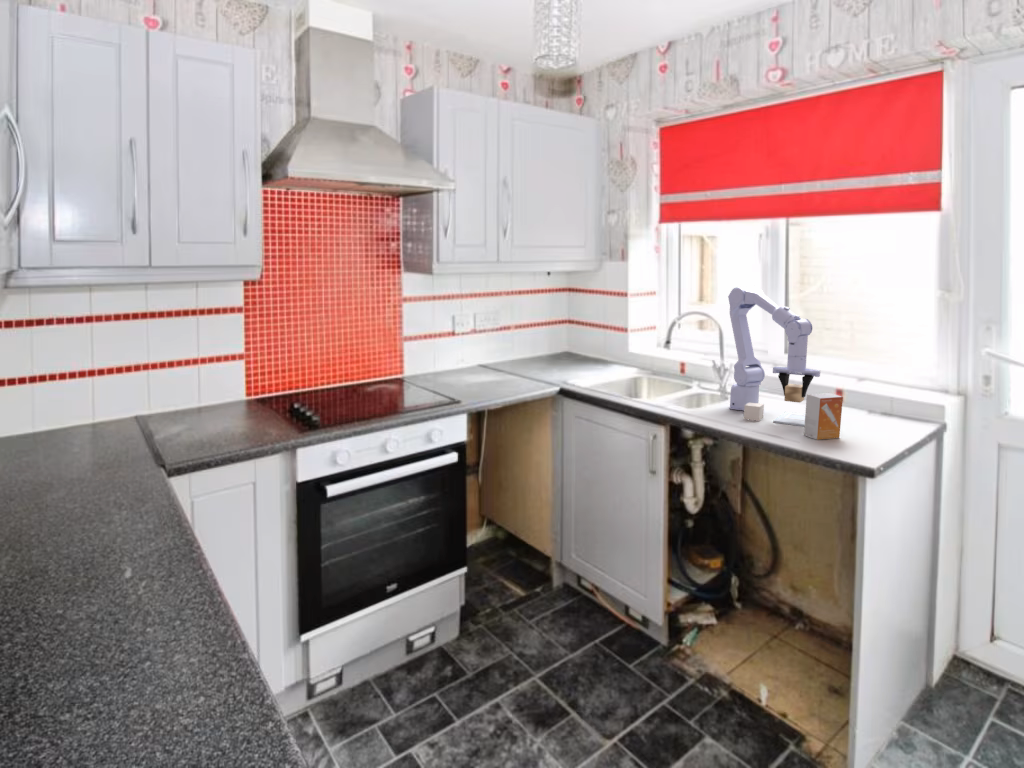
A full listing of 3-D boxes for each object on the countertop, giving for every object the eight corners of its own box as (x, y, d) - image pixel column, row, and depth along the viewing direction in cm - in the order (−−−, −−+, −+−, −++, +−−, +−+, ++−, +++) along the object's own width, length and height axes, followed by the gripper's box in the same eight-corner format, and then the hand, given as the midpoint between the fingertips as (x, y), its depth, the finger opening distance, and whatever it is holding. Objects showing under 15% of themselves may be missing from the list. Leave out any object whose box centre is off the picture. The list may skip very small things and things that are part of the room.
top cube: (743, 419, 224) (744, 405, 223) (748, 416, 227) (749, 402, 226) (758, 421, 221) (759, 406, 220) (763, 418, 224) (763, 404, 224)
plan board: (773, 422, 218) (773, 420, 218) (785, 413, 230) (785, 411, 230) (811, 427, 211) (811, 425, 211) (821, 417, 223) (822, 415, 223)
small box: (817, 440, 197) (820, 398, 194) (803, 435, 203) (805, 394, 200) (840, 438, 198) (843, 396, 196) (825, 433, 204) (828, 392, 202)
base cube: (784, 400, 219) (785, 386, 218) (788, 398, 222) (789, 383, 222) (800, 402, 216) (801, 387, 215) (804, 399, 219) (805, 385, 219)
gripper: (770, 355, 217) (768, 395, 220) (817, 359, 209) (814, 400, 211) (777, 353, 223) (774, 392, 226) (822, 356, 214) (820, 396, 217)
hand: (794, 395), depth 219 cm, fingers closed on base cube, 5 cm apart
